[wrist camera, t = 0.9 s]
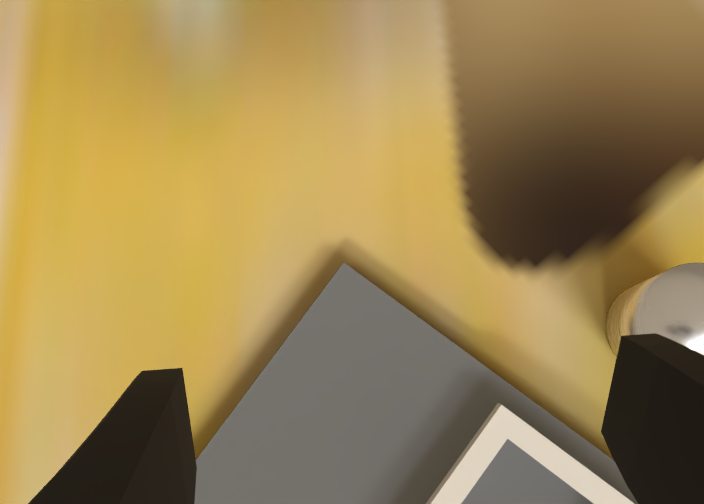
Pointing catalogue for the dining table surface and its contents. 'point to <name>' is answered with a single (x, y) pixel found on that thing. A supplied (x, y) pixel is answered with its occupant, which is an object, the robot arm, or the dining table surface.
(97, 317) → the dining table surface
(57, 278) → the dining table surface
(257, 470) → the board
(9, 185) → the dining table surface
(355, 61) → the dining table surface
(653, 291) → the pin
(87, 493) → the robot arm
